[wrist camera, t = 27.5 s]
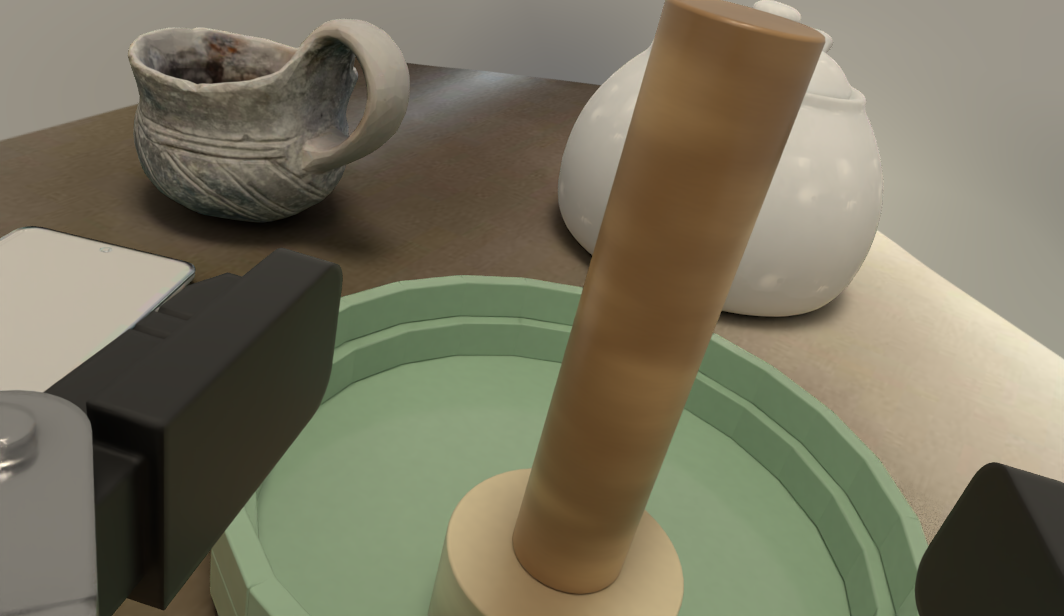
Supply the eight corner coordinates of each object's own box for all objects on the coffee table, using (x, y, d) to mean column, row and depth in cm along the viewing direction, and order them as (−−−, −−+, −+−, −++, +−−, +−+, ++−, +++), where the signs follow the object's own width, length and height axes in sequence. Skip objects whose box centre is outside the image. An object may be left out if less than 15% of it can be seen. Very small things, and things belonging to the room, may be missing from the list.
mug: (219, 151, 43) (226, -47, 38) (432, 222, 41) (466, 23, 36) (80, 204, 35) (67, -41, 30) (339, 297, 33) (369, 51, 28)
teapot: (503, 170, 50) (552, -63, 44) (757, 202, 56) (834, 0, 49) (585, 330, 35) (680, 8, 28) (924, 353, 40) (1069, 88, 34)
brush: (378, 652, 18) (510, -34, 11) (499, 518, 23) (648, -31, 16) (592, 797, 17) (910, 88, 10) (677, 620, 21) (935, 52, 14)
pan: (25, 584, 19) (11, 471, 17) (452, 301, 35) (466, 228, 33) (838, 1162, 13) (936, 1077, 11) (900, 505, 29) (945, 429, 27)
